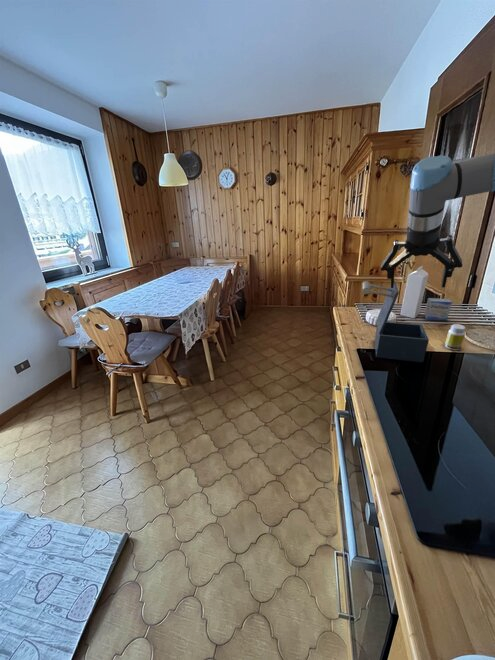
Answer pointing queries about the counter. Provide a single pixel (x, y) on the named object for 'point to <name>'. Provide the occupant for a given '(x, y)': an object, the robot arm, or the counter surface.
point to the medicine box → (437, 309)
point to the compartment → (401, 342)
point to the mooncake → (373, 315)
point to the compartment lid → (387, 304)
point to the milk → (414, 293)
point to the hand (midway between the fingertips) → (416, 284)
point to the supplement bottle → (455, 337)
